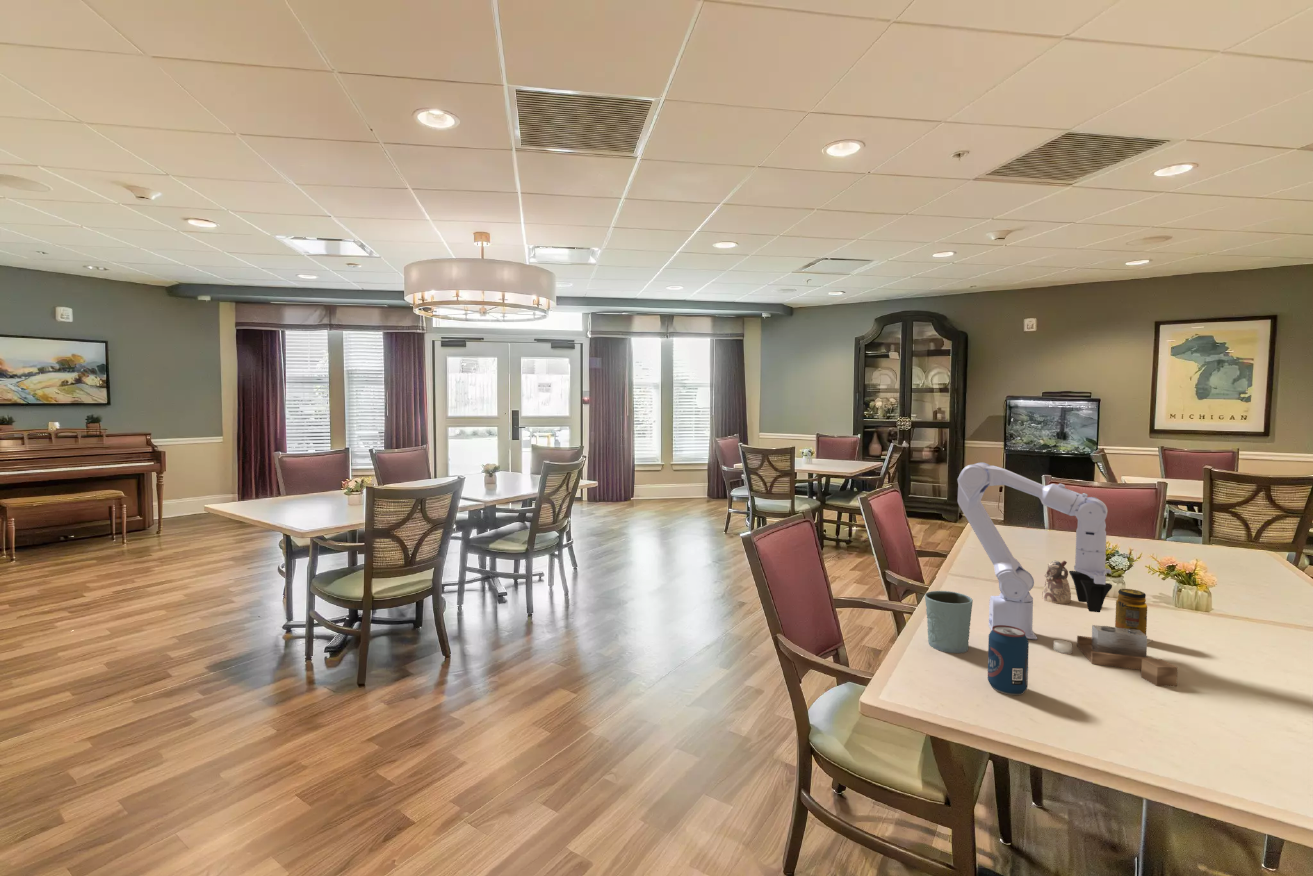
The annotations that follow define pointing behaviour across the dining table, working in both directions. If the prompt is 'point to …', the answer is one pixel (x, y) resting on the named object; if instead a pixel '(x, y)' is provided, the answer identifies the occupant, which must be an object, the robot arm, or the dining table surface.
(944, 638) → the green embossed planter
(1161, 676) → the walnut block
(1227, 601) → the dining table surface
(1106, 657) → the stand
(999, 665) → the soda can
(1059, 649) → the plastic cap
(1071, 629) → the dining table surface
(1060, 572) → the figurine
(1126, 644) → the block
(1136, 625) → the condiment
